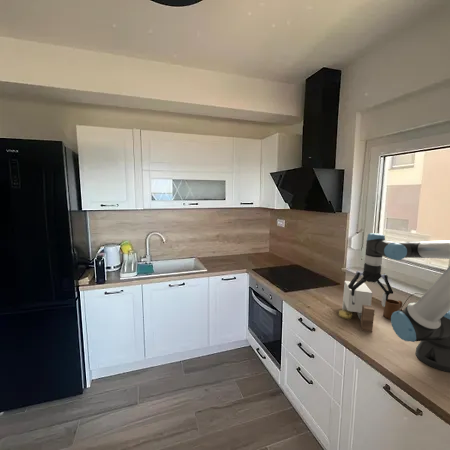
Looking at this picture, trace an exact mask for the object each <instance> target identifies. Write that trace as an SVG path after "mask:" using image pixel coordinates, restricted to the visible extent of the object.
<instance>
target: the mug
mask: <svg viewBox="0 0 450 450" xmlns="http://www.w3.org/2000/svg"><path fill="white" fill-rule="evenodd" d="M402 307H403V301H401V300H395V299H392V298H388V300H386V302H385V307H383V312H382V314H383V317H384V318H386V319H388V320H391V316H392V314H393V313H394V312H395V311H401V309H402Z"/></svg>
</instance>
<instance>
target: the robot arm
mask: <svg viewBox="0 0 450 450" xmlns="http://www.w3.org/2000/svg"><path fill="white" fill-rule="evenodd" d="M364 256H365V257H364V264H363V270H362V271H358V270H357V271H356V272H355V275H354V276H353V277H352V279H351V282H350V283H349V285H348V287H349V289H352V290H351V295H352V296H353V303H355V300H356V289H357V288H358V287H359V286H360V285H362V284H363V283H366V282H368V283H377V284H378V285H379V287H380V288H381V289H382V290H383V292H382V298H381V305H382V307H383V308H384V307H385V302H386V300H388V299H389V296H390V295H392V294H394V291H393V288H392V286H391V284H390V282H389V279H388V275H387V274H386V273H384V274H382V264H383V257H385V258H387V259H390V260H395V261H401V260H403V259H407V258H409V259H410V258H411V259H412V258H413V259H414V258H415V259H443V260H444V259H445V260H450V240H448V239H447V240H428V241H427V240H426V241H425V240H424V241H422V240H421V241H420V240H419V241H390V240H386V235H384V234H383V233H377V232H376V233H375V232H370V233H368V234H367V237H366V243H365V254H364ZM361 276H362V278H360V277H361ZM359 278H360V279H359ZM381 278H382V279H383V281H384V283H385V285H386V287H385V286H384V285H383V283H382V282H381V281H380V279H381ZM358 279H359V281H358ZM355 282H357V283H356V284H355ZM354 284H355V285H354ZM390 322H391V327H392V329H393V331H394V333H395V334H396V336H397V337H398V339H401V340H402V341H404V342H413V343H415V342H419V343H418V345H417V346H416V347H415V348H416V349H415V356H416V357H417V359H419V360H420V361H421V362H423V363H424V364H425V365H428V366H430V367H431V368H434V369H436V370H439V371H443V372H447V373H450V265H449V266H448V267H447V268H446V270H445V271H444V272H443V273H442V274H441V275H440V276H439V277H438V279H436V281H435V282H433V284H432V285H431V286H430V287H429V288H428V289H427V290H426V291H425V293H424V294H423V295H422V296H421V297H420V299H418V300H417V302H416V301H413V302H410V303H408V305H406V306H405V308H404V309H402V310H400V311H395V312H394V313H393V314H392V316H391V319H390Z"/></svg>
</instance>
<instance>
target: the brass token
mask: <svg viewBox="0 0 450 450" xmlns="http://www.w3.org/2000/svg"><path fill="white" fill-rule="evenodd" d="M338 317H340V318H341V319H345V320H351V319H353V312H352V311H348V310H344V309H339V310H338Z"/></svg>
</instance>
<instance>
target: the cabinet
mask: <svg viewBox="0 0 450 450" xmlns="http://www.w3.org/2000/svg"><path fill="white" fill-rule="evenodd" d="M351 281H352V280H351ZM351 281H349V280H344V287H343V296H342V306H341V307H342V308H341V310H348V311H351V312H352V313H353V312H354V313H357V312H359V313H362V306H363V305H368V306H372V300H373V299H372V298H373V291H372V290H371V289H370V288H369V286H367V283H366V282H364V283H363V284H362V285H360V286H359V287H358V288H357V289H356V300H355V303H353V296H352V295H351V290H352V289H349V287H348V285H349V283H350V282H351ZM357 282H358V281H356V282H355V284H356V283H357ZM355 284H354V285H355Z"/></svg>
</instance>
